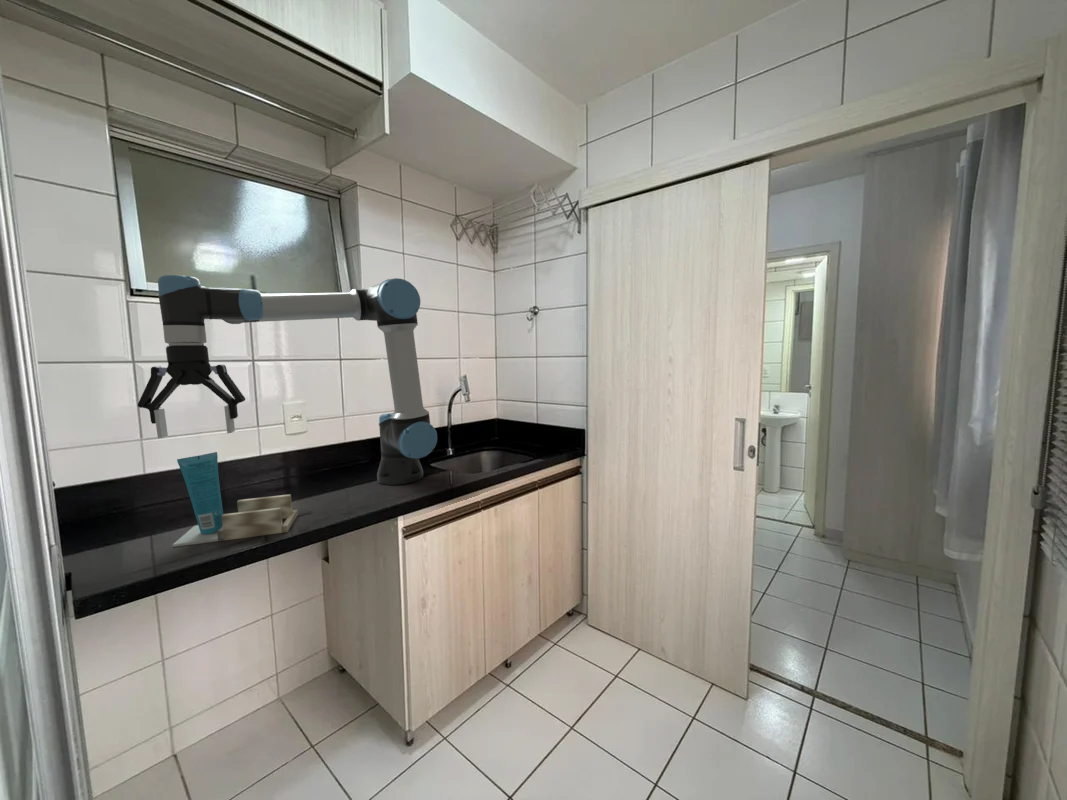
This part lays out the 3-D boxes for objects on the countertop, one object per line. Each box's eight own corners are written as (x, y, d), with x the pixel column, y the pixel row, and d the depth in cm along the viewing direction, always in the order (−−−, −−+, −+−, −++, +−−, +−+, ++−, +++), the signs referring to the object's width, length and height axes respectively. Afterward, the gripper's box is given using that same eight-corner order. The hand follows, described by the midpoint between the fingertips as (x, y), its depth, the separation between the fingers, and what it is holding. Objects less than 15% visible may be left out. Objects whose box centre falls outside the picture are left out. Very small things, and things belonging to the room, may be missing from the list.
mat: (236, 522, 108) (236, 520, 108) (219, 540, 98) (219, 538, 98) (195, 527, 106) (194, 525, 106) (172, 547, 95) (172, 544, 95)
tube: (228, 520, 107) (214, 449, 103) (233, 527, 103) (219, 453, 99) (191, 532, 101) (175, 457, 97) (195, 539, 98) (179, 462, 94)
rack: (297, 515, 113) (295, 493, 112) (287, 531, 102) (285, 508, 102) (235, 522, 108) (233, 500, 108) (218, 541, 98) (215, 516, 97)
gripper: (253, 344, 104) (262, 427, 107) (129, 346, 96) (142, 435, 99) (243, 343, 97) (253, 433, 100) (108, 345, 89) (122, 442, 92)
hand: (197, 434), depth 99 cm, fingers open, 13 cm apart
